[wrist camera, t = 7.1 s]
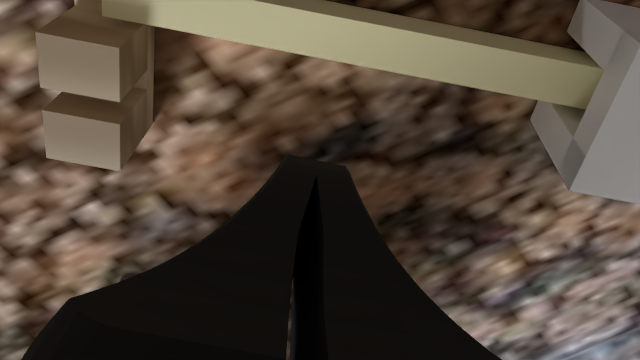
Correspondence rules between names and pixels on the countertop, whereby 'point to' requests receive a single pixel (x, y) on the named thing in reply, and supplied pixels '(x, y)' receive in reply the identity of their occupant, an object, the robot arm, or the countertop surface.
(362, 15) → the pale yellow bar
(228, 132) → the countertop surface
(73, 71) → the comb
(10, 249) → the countertop surface
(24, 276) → the countertop surface
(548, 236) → the countertop surface
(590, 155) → the sleeve
